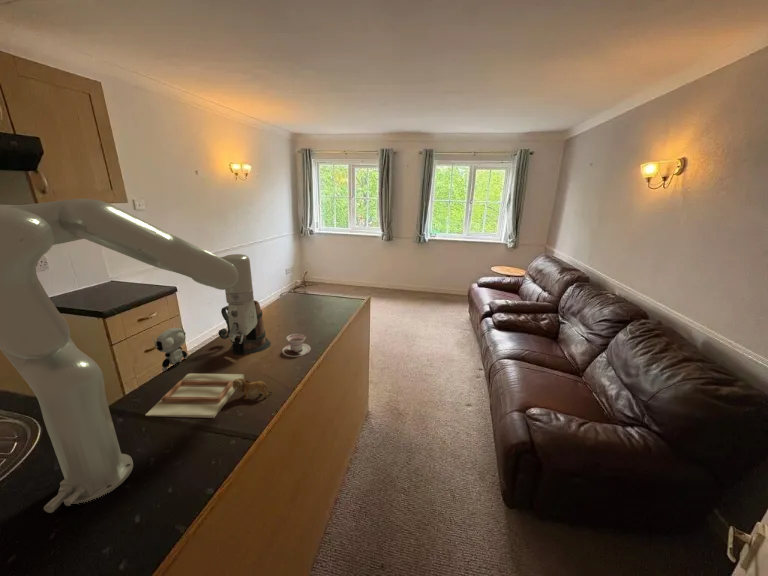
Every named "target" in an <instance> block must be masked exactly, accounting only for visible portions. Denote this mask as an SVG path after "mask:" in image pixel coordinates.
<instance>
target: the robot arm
mask: <svg viewBox="0 0 768 576" xmlns="http://www.w3.org/2000/svg"><path fill="white" fill-rule="evenodd" d="M80 240H86V241H89V242H91V243H94V244H97V245H99V246H102V247H104V248H107V249H109V250H112V251H114V252H117V253H119V254H122V255H125V256H127V257H129V258H131V259H133V260H137V261H139V262H141V263H144V264H146V265H150V266H152V267H155V268H158V269H160V270H164V271H169V272H173V273H176V274H179V275H182V276H184V277H185V276H186V277H187V278H190V279H192V280H193V281H194V282H195V283H198V284H200V285H204V286H207V287H210V288H212V289H213V288H214V289H216V290H220V291H223V290H225V291H224V292H225V300H226V303H227V304H228V305H227V306H228V311H227V312H228V313H227V314H228V315H229V327H230V333H229V337H228V338H229V340H230V342H231V344H232V345H233V355H234V356H244V355H245V348H244V342H242V341H243V335H246V339H247V340H256V339H257V336H256V325H257V314H256V308H255V303H254V300H255V298H254V297H255V296H254V289H253V288H254V287H253V279H252V278H253V277H252V270H251V269H252V268H251V261H250V258H249V256H248V255H246V254H242V253H241V254H240V253H237V254H234V253H233V254H227V255H225V256H218V255H216V254H214V253H212V252H210V251H208V250H206V249H203V248H202V247H199V246H197V245H194V244H193V243H190V242H188V241H186V240H184V239H182V238H180V237H178V236H176V235H173V234H171V233H169V232H167V231H165V230H163V229H161V228H159V227H157V226H155V225H153V224H150V223H148V222H147V221H145V220H144V219H141V218H139V217H137V216H136V215H133V214H131V213H129V212H128V211H125V210H124V209H121V208H120V207H117V206H115V205H113V204H110V203H108V202H106V201H103V200H99V199H89V198H73V199H71V198H70V199H64V200H56V201H49V202H47V201H46V202H39V203H29V204H18V205H8V206H7V205H6V206H0V351H1V353H2V354H3V355H4V356H5V357H6V358H7V360H8V361H9V362H10V364H11V365H12V366H13V367H14V368H15V370H16V371H17V372H18V373H19V375H20V376H21V378H23V380H24V381H25V382H26V383H27V385H28V386H29V388H30V389H31V390H32V392H33V394H34V395H35V397H36V399H37V401H38V403H39V407H40V411H41V415H42V418H43V419H42V420H43V422H44V425H45V428H46V431H47V434H48V436H49V438H50V441H51V444H52V447H53V449H54V453H55V456H56V457H57V458H56V459H57V461H58V464H59V466H60V470H61V472H62V476H63V477H64V479H63V480H61V481H60V482H59V485H60V487H59V489H58V491H57V495H55V496H54V497H53V498H52V499H51V500H49V501H48V502H47V503H46V504H45V505H44V506H43V510H44V511H45V512H46V513H49V514H51V513H53V512H55V510H57V509H58V507H59V506H61V505H62V503H63V502H64V503H63V504H64V505H65V506H66V507H69V506H72V505H71V504H78V505H80V504H79V503H83V502H84V503H83V504H86V503H85V502H87V503H89V502H88V501H90V502H92V501H91V500H93V499H95V500H97V499H96V498H98V499H100V498H102V497H104V496H106V495H108V494H109V493H111V492H113V491H114V490H116V488H118V487H119V486H121V485H122V484H123V483H124V482H125V480H126V479H127V478H128V477H130V474H131V473H132V471H133V468H134V462H133V459H132V458H133V457H131V456H130V455H129V454H127V453H126V454H125V453H122V451H121V447H120V444H119V440H118V437H117V433H116V430H115V426H114V423H113V419H112V416H111V412H110V407H109V404H108V400H107V395H106V388H105V379H104V374H103V371H102V370H101V368H100V366H99V365H98V364H97V362H96V361H95V360H94V359H92V358H91V357H90V356H89V355H87V354H86V353H84V352H83V351H82V350H80V349H79V348H78V347H77V346H76V344H75V342H74V341H73V340H72V338H71V330H70V326H69V324H68V321H67V320H66V319H65V317H64V316H63V315H62V313H60V311H59V310H58V308H57V306H56V305H55V304H54V302H53V301H52V300H51V298H50V297H49V295H48V294H47V292H46V290H45V288H44V286H43V284H42V283H41V281H40V280H39V277H38V274H37V266H38V263H39V261H40V260H41V258H43V256H44V255H46V254H47V253H48V251H50V250H51V248H52V247H53V246H54V245H60V244H67V243H71V242H75V241H80ZM236 332H241V333H236ZM236 336H240V338H239V339H238V338H237V337H236ZM232 345H231V346H232ZM107 493H108V494H107ZM105 494H106V495H105ZM103 495H104V496H103ZM101 496H102V497H101ZM99 497H100V498H99ZM93 501H94V500H93Z"/></svg>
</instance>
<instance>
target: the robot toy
mask: <svg viewBox="0 0 768 576" xmlns="http://www.w3.org/2000/svg"><path fill="white" fill-rule="evenodd" d="M180 327H181V328H180ZM180 327H172V328H171V327H170V328H168V329H166V330H164V331H162V333H160V334H159V335H158V336H157V338H156V341H155V337H152V340H153V343H154V346H155V349H156V350H157V351H159V352H160V353H165V354H164V357H165V358H164V360H163V361H162V363H161V364H162V365H161V368H162V372H166V371H167V370H168V367H170V365H173V366H178V365H179V364H180V363H182V361H183V359H185V360H187V359H188V358H189V354H188V353H187V351H186V350H183V348H182V346H183V345H184V343H185V341H186V338H187V336H186V332H185V329H184V328H183V324H180ZM179 362H180V363H179ZM178 363H179V364H178ZM175 364H176V365H175Z"/></svg>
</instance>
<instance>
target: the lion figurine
mask: <svg viewBox="0 0 768 576" xmlns="http://www.w3.org/2000/svg"><path fill="white" fill-rule="evenodd" d="M264 388H265V389H266V391H265V389H264ZM233 389H235V391H237V392H239V393H243V396H244V397H243V399H244V400H247V399H248V397H249V395H248V393H249V392H254V391H257V390H258V391H259V395H262V394H263V395H264V397H263V398H265V399H267V398H268V396H269V394H273V391H270V390H269V388H268V386H267V384H266V383H265V382H264V381H262V380H258V381H249V380H248V379H245V378H244V379H235V380H234V381H233ZM235 391H234V392H235ZM268 393H269V394H268Z"/></svg>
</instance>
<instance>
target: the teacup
mask: <svg viewBox="0 0 768 576" xmlns="http://www.w3.org/2000/svg"><path fill="white" fill-rule="evenodd" d="M306 338H307V337H306V335H304V334H302V333H292V334H289V335H287V336H286V341H287V343H288V345H286V346H285V347H283V348H282V351H281V353H282V354H283V355H284V356H286V357H292V358H295V357H296V358H297V357H303V356H305V355H307V354H308V353H310V352H311V346H310V345H309V344H308V343H304V342H305V340H306ZM286 350H289V351H292V352H294V353H298V354H299V355H289V354H287V353H285V351H286Z"/></svg>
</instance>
